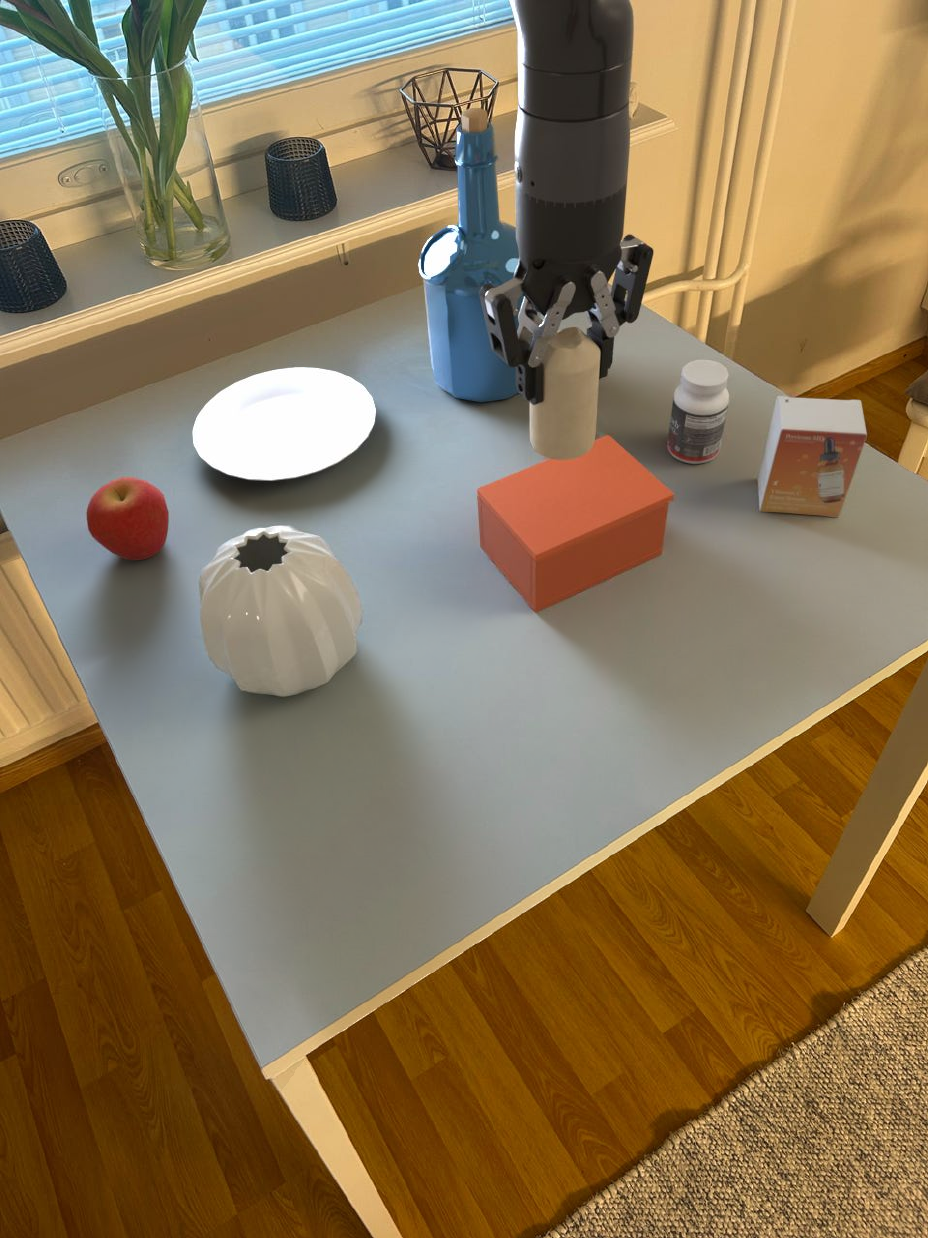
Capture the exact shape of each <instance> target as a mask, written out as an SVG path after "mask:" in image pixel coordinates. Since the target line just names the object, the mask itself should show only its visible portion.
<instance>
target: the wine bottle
mask: <svg viewBox="0 0 928 1238" xmlns="http://www.w3.org/2000/svg"><path fill="white" fill-rule="evenodd" d="M460 120H461V123H460V124H458V126H457V127H456V129H455V148H454V149H455V150H454V155H455V157H454V158H453V160H454V162H455V165H456V167H457V168H456V174H457V178H456V179H457V215H458V217H457V218H458V219H457V220H458V221H457V223H456V224H452V225H446V226H445V227H443V228H441V229H440V230H438V231H437V232H435V233H434V234H433V235H432V236H431V237H430V238H429V239H427V241H426V243H425V244H424V246H423V248H422V250H421V253H420V255H419V259H418V260H419V261H418V271H419V274H420V277H421V279H422V281H423V291H424V301H425V313H426V322H427V323H426V325H427V332H428V333H427V335H428V344H429V354H430V356H429V357H430V364H431V365H430V366H431V368H432V374H433V376H434V381H435V382H436V384H437V386H438V387H440V388H441V389H442V390H444V391H446V392H447V394H450V395H451V396H452V397H454V398H456V399H462V400H467V401H472V402H479V403H485V402H493V401H499V400H507V399H510V398H512V397H513V396H515V395H517V394H520V393H519V392H518V391H517V389H516V367H515V368H511V367H510V366H509V365H507V364H506V363H505V362H504V361H503V360H502V359H501V358H500V357H499V356H497V355H496V354H495V353H494V352H493V351H492V348H491V344H490V339H489V335H488V331H487V326H486V322H485V318H484V313H483V309H482V305H481V300H480V296H479V292H480V289H481V287H482V286H483V285H485V284H488V283H489V284H492V285H493V286H494V287H495V288H497V287H498V286H500V285H502V284H504V283H506V282H507V281H509V280H511V279H513V278H514V272H515V270H516V267H517V265H518V261H519V250H518V245H517V240H516V226H514V225H512V224H510V223H508V222H506V221H504V220H501V218H500V205H499V204H500V203H499V189H498V175H497V174H498V173H497V162H498V160H499V156H498V150H497V145H496V144H497V143H496V137H495V129H494V126H493V124H492V123H491V122H489V121H488V112H487V110H486V109H483V108H480V107H469V108H467V109H465V110H462V111H461V119H460ZM523 300H524V295H523V294H522V295H521V296H520V297H519V299H518V302H517V309H518V314H517V315H516V316H514V319H515V324H516V329H517V330H518V328H519V321H518V315H519V312H520V309H521V306H522V303H523ZM537 313H538V317H539V318H540V319H542V314H541V313H540V312H538V311H537ZM532 339H533V336H532V338H531V341H530V345H531V342H532Z"/></svg>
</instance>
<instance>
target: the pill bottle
mask: <svg viewBox="0 0 928 1238" xmlns="http://www.w3.org/2000/svg"><path fill="white" fill-rule="evenodd" d="M680 373H681V374H680V379H679V381H680V383H679V384H678V385H677V386H676V388H675V390H674V392H673V396H672V404H671V410H670V411H671V412H670V418H669V426H668V434H667V441H666V443H667V444H666V447H667V450H668V452H669V454H670V455H671V456H672V457H673V458H674V459H676V460H678V461H680V462H682V463H685V464H692V465H698V464H700V465H701V464H705V463H708V462H710V461H712V460H714V459H715V458H716V457H717V456H718V454H719V453H720V450H721V446H722V445H721V444H722V440H723V435H724V430H725V424H726V419H727V414H728V408H729V403H730V393H729V391H728V389H727V386H728V381H729V370H728V369H727V367H726V366H724V364H722V363H720V362H718V361H715V360H712V359H694V360H692V361H689V362H688V363H685V365H683V367H682V370H681V372H680Z"/></svg>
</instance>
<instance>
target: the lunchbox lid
mask: <svg viewBox="0 0 928 1238" xmlns="http://www.w3.org/2000/svg"><path fill="white" fill-rule="evenodd" d="M476 495H477V496H479V497H480V498H481V500H482V501H483V502H484V503H485V504H486V505H487V506H488V508H489V509H490V510H491V511H492V512H493V513H494V514H495V515H496V517H497V518H498V519H499V520H500V521H501V522H502V523H503V525H504V526H505V527H506V528H507V529H508V530H509V531H510V532H511V534H512V535H513V536H514V537H515V538H516V539H517V540H518V542H519V543H520V544H521V545H522V546H523V547H524V548H525V549H526V551H527V552H528V553H529V554H530V555H531V556H532V557H533V559H534V560H535V561H538V560H540V559H542V558H545V557H547V556H549V555H551V554H554V553H556V552H558V551H560V550H562V549H565V548H567V547H569V546H571V545H574V544H576V543H578V542H580V541H583V540H585V539H587V538H589V537H592V536H594V535H596V534H598V533H601V532H603V531H605V530H607V529H610V528H612V527H614V526H616V525H619V524H621V523H623V522H625V521H628V520H630V519H632V518H634V517H637V516H639V515H641V514H643V513H646V512H648V511H650V510H652V509H655V508H657V507H659V506H661V505H664V504H666V503H670V502H673V501H674V499H675V493H674V492H673V491H672V490H671V489H669V488H668V487H667V486H666V485H665V484H664V483H663V482H661V480H660V479H658V477H656V476H655V475H654V474H653V473H652V472H650V470H648V469H647V468H646V467H645V466H644V465H643V464H642V463H641V462H639V460H637V459H636V458H635V457H634V456H633V455H632V454H631V453H629V452H628V451H627V450H626V449H625V448H624V447H623V446H622V445H621V444H619V442H617V441H616V440H615V439H614V438H613V437H612V436H611V435H609V434H607V435H604V436H601V437H599V438H597V439H595V441H594V444H593V447H592V448H591V449H590V451H588V452H587V453H586V454H584V455H582V456H580V457H578V458H574V459H569V460H555V459H550V458H547V459H545V460H543V461H541V462H539V463H535V464H534V465H531V466H529V467H527V468H526V467H525V468H524V469H521V470H518V471H516V472H514V473H512V474H509V475H507V476H504V477H501V478H499V479H497V480H494V481H493V482H492V481H491V482H490V483H487V484H485V485H483V486H480V487H478V488H476Z"/></svg>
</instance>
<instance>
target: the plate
mask: <svg viewBox="0 0 928 1238" xmlns="http://www.w3.org/2000/svg"><path fill="white" fill-rule="evenodd" d="M374 401H375V400H374V398H373V396H372V395H371V394H370V392H369V391H368V390H367V389H366V387H365V386H364V385H363V384H361V383H360V382H358V381H357V380H355V379H353V378H352V377H351V376H348V375H345V374H343V373H341V372H338V371H335V370H329V369H324V368H318V367H297V366H296V367H287V368H280V369H279V368H278V369H273V370H269V371H264V372H261V373H257V374H253V375H251V376H249V377H246V378H244V379H241V380H239V381H236V382H234V383H233V384H231V385H229V386H227V387H226V388H224V389H223V390H221V391H219V392H218V393H217V394H216V395H215V396H214V397H212V398H211V399H210V400H209V401H208V402H207V403H206V404H205V405H204V407H203V408H202V409H201V410H200V412H199V413H198V415H197V416H196V419H195V421H194V425H193V428H192V441H193V442H192V443H193V446H194V448H195V450H196V452H197V455H198V456H199V457H200V458H201V460H203V461H204V462H205V463H206V464H207V465H209V466H210V467H211V468H213V469H215V470H217V471H218V472H221V473H223V474H225V475H227V476H230V477H235V478H239V479H243V480H248V481H267V482H268V481H269V482H273V481H281V480H290V479H291V480H292V479H296V478H297V479H298V478H300V477H304V476H308V475H311V474H315V473H319V472H321V471H323V470H325V469H328V468H330V467H332V466H334V465H336V464H339V463H340V462H341V461H343V460H345V459H346V458H347V457H348V456H351V454H353V453H355V452H356V451H357V450H358V449H359V448H360V446H361V445H363V443H364V442H365V441H366V440H367V439H368V438H369V436H370V434H371V432H372V430H373V428H374V426H375V424H376V416H377V415H376V414H377V408H376V405H375V404H376V403H375V402H374Z"/></svg>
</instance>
